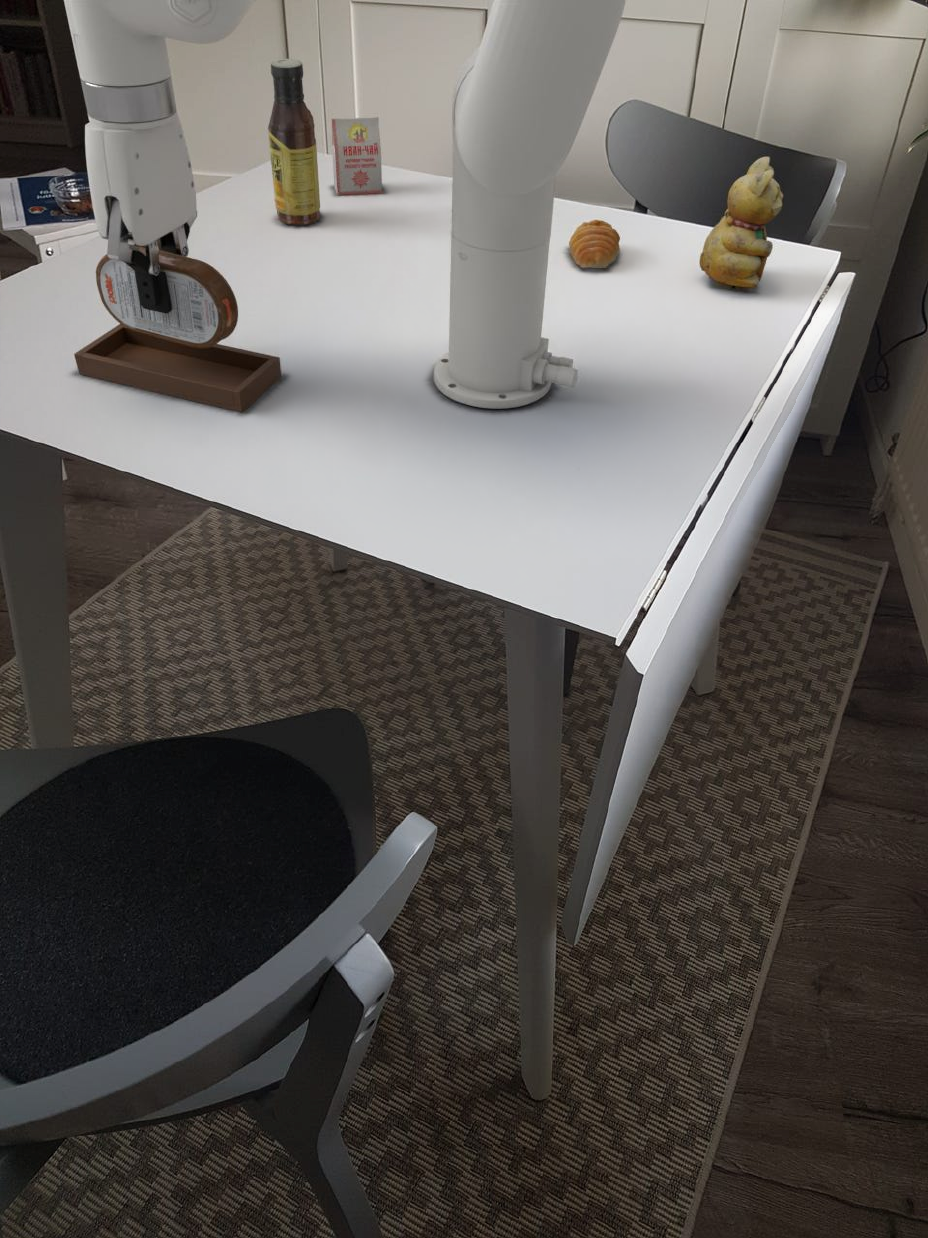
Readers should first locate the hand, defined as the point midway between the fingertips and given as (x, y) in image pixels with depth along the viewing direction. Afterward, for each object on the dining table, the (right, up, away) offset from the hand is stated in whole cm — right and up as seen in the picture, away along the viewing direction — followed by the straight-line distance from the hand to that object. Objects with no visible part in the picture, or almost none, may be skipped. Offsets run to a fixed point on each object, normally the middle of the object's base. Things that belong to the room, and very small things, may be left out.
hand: (167, 301), depth 95 cm
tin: (-1, -3, +2) cm, 4 cm away
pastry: (+47, +17, +33) cm, 60 cm away
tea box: (+14, +33, +50) cm, 62 cm away
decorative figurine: (+64, +11, +28) cm, 70 cm away
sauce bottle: (+6, +25, +40) cm, 47 cm away
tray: (0, -6, +5) cm, 8 cm away
